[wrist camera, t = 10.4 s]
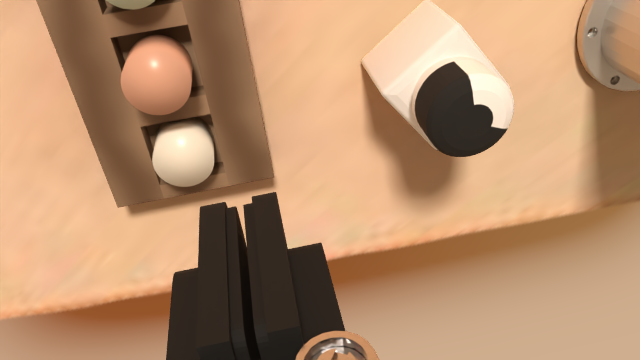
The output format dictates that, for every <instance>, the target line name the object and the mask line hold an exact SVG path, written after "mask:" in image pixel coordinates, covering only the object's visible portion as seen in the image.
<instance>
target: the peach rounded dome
mask: <svg viewBox="0 0 640 360" xmlns="http://www.w3.org/2000/svg"><path fill="white" fill-rule="evenodd" d="M192 70H193V65H192V60H191V57H190V55H189V53H188V51H187V50H186V48H185V47H184V46H183V45H182V44H181V43H179V42H178V41H177V40H175V39H173V38H171V37H168V36H164V35H150V36H147V37H144V38H142V39H140V40H139V41H137V42H136V43H135V44H134V45H133V46H132V48H131V50H130V51H129V54H128V57H127V59H126V62H125V65H124V68H123V71H122V73H121V88H122V91H123V93H124V95H125V97H126V99H127V100H128V101H129V102H130V103H131V104H132V105H133V106H134V107H135V108H137V109H138V110H140V111H142V112H144V113H147V114H151V115H166V114H170V113H173V112H175V111H177V110H178V109H180V108H181V107H182V106H183V105H184V104H185V103H186V102H187V100H188V98H189V96H190V92H191V84H192Z"/></svg>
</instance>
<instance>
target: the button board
mask: <svg viewBox="0 0 640 360" xmlns="http://www.w3.org/2000/svg"><path fill="white" fill-rule="evenodd" d="M36 1H37V3H38V6H39V8H40V11H41V13H42V16H43V19H44V21H45V24H46V26H47V29H48V31H49V34H50V36H51V39H52V41H53V44H54V46H55V49H56V52H57V54H58V57H59V59H60V62H61V64H62V67H63V69H64V72H65V74H66V77H67V80H68V82H69V85H70V87H71V90H72V92H73V95H74V97H75V100H76V102H77V105H78V107H79V110H80V113H81V115H82V118H83V120H84V123H85V125H86V128H87V130H88V133H89V135H90V138H91V141H92V143H93V146H94V148H95V151H96V153H97V156H98V158H99V161H100V163H101V166H102V169H103V171H104V174H105V176H106V179H107V181H108V184H109V186H110V189H111V191H112V194H113V196H114V199H115V202H116V204H117V207H124V206H129V205H134V204H139V203H144V202H149V201H154V200H160V199H165V198H170V197H175V196H180V195H185V194H190V193H196V192H201V191H206V190H211V189H216V188H221V187H227V186H232V185H237V184H242V183H247V182H252V181H257V180H263V179H268V178H273V177H274V174H273V169H272V163H271V158H270V153H269V148H268V143H267V138H266V133H265V128H264V123H263V118H262V113H261V108H260V103H259V98H258V93H257V88H256V84H255V79H254V74H253V69H252V64H251V59H250V54H249V49H248V44H247V39H246V34H245V29H244V24H243V19H242V14H241V9H240V4H239V0H155V1H154V2H153V3H152V4H150V5H148V6H146V7H144V8H140V9H134V10H132V9H123V8H119V7H117V6H114V5H112V4H111V3H109V2H108V1H106V0H36ZM150 35H164V36H168V37H171V38H173V39H175V40H177V41H178V42H179V43H181V44H182V45H183V46H184V47H185V48H186V50H187V51H188V53H189V55H190V57H191V60H192V65H193V70H192V84H191V92H190V96H189V98H188V100H187V102H186V103H185V104H184V105H183V106H182V107H181V108H180V109H178V110H177V111H175V112H173V113H170V114H166V115H151V114H147V113H144V112H142V111H140V110H138V109H137V108H135V107H134V106H133V105H132V104H131V103H130V102H129V101H128V100H127V99H126V97H125V95H124V93H123V91H122V88H121V73H122V71H123V68H124V65H125V62H126V59H127V57H128V54H129V51H130V50H131V48H132V46H133V45H134V44H135V43H136V42H137V41H139V40H140V39H142V38H144V37H147V36H150ZM191 117H198V118H200V119H201V120H203V121H204V122H205V123H207V125H208V126H209V127H210V128H211V130H212V133H213V136H214V167H213V170H212V172H211V174H210V175H209V176H208V178H206V179H205V180H204V181H203V182H201V183H199V184H197V185H194V186H189V187H179V186H175V185H171V184H169V183H167V182H165V181H164V180H163V179H161V178H160V177H159V176H158V174H157V173H156V171H155V169H154V167H153V162H152V158H153V151H154V146H155V140H156V135H157V131H158V129H159V127H160V126H161V124H162V123H164V122H169V121H175V120H180V119H185V118H191Z"/></svg>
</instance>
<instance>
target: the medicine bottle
mask: <svg viewBox="0 0 640 360" xmlns="http://www.w3.org/2000/svg"><path fill="white" fill-rule="evenodd" d="M361 63H362V65H363V67H364V68H365V70H366V71H367V73H368V75H369V76H370V78H371V79H372V81H373V82H374V84H375V85H376V87H377V89H378V90H379V92H380V93H381V95H382V96H383V97H384V98H385V99H386V100H387V101H388V102H389V103H390V104H391V105H392V107H393V108H394V109H395V110H396V111H397V112H398V113H399V114H400V115H401V116H402V117H403V118H404V119H405V120H406V121H407V122H408V123H409V124H410V125H411V126H412V127H413V128H414V129H415V130H416V131H417V132H418V133H419V134H420V135H421V136H422V137H423V138H424V139H425V140H426V141H427V142H428V143H429V144H430V145H431V146H432V147H433V148H434V149H435V150H439V151H441V152H442V153H444V154H446V155H450V156H454V157H467V156H472V155H476V154H478V153H481V152H483V151H485V150H487V149H488V148H490V147H491V146H493V145H494V144H495V143H496V142H497V141H498V140H499V139H500V138H501V137H502V136H503V135H504V133H505V132H506V130H507V129H508V127H509V125H510V123H511V120H512V117H513V113H514V99H513V96H512V93H511V91H510V86H509V84H508V83H507V82H506V81H505V79H504V78H503V77H502V76H501V74H500V73H499V72H498V71H497V69H496V68H495V67H494V66H493V64H492V63H491V62H490V61H489V59H488V58H487V57H486V56H485V54H484V53H483V52H482V51H481V49H480V48H479V47H478V46H477V44H476V43H475V42H474V41H473V39H472V38H471V37H470V36H469V34H468V33H467V32H466V31H465V29H464V28H463V27H462V26H461V25H460V24H459V23H458V22H457V21H455V20H454V19H453V18H452V17H450V16H449V15H448V14H447V13H445V12H444V11H443V10H441V9H440V8H439V7H438V6H436V5H435V4H434V3H433V2H431V1H430V0H424V1H423V2H421V3H420V4H419V5H418V6H417V7H416V8H415V9H414V10H413V11H412V12H411V13H410V14H409V15H408V16H407V17H406V18H405V19H403V20H402V21H401V22H400V23H399V24H398V25H397V26H396V27H395V28H394V29H393V30H392V31H391V32H390V33H389V34H388V35H386V36H385V37H384V38H383V39H382V40H381V41H380V42H379V43H378V44H377V45H376V46H375V47H374V48H373V49H372V50H371V51H370V52H368V53H367V54H366V55H365V56H364V57H363V58H362V60H361Z"/></svg>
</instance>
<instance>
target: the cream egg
mask: <svg viewBox="0 0 640 360" xmlns="http://www.w3.org/2000/svg"><path fill="white" fill-rule="evenodd" d="M152 162H153V167H154V169H155V171H156V173H157V174H158V176H159V177H160V178H161V179H163V180H164V181H165V182H167V183H169V184H171V185H175V186H179V187H189V186H194V185H197V184H199V183H201V182H203V181H204V180H205V179H206V178H208V176H209V175H210V174H211V172H212V170H213V167H214V136H213V133H212V130H211V128H210V127H209V126H208V125H207V123H205V122H204V121H203V120H201V119H200V118H198V117H191V118H185V119H180V120H175V121H169V122H164V123H162V124H161V126H160V127H159V129H158V131H157V135H156V140H155V146H154V151H153V158H152Z"/></svg>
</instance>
